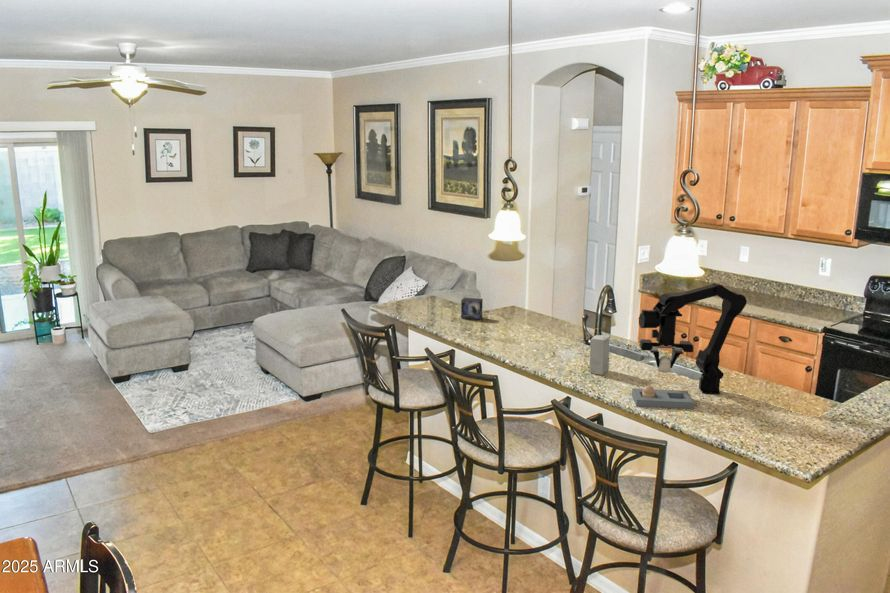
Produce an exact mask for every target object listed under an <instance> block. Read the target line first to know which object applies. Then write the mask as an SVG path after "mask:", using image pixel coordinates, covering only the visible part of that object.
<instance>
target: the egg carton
mask: <svg viewBox="0 0 890 593" xmlns="http://www.w3.org/2000/svg"><path fill="white" fill-rule="evenodd" d="M631 396H632V399H633V401H634V404H635V407H642V408H643V407H644V408H661V409H662V408H664V409H685V410H695V401H694V400H693V398H692V397H691V394H690V393H689V391H688V390H681V389H680V390H675V389H655V388H654V387H653V386H652V385H646V386H644V387H643V388H636V387H635V388H632V389H631Z"/></svg>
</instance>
